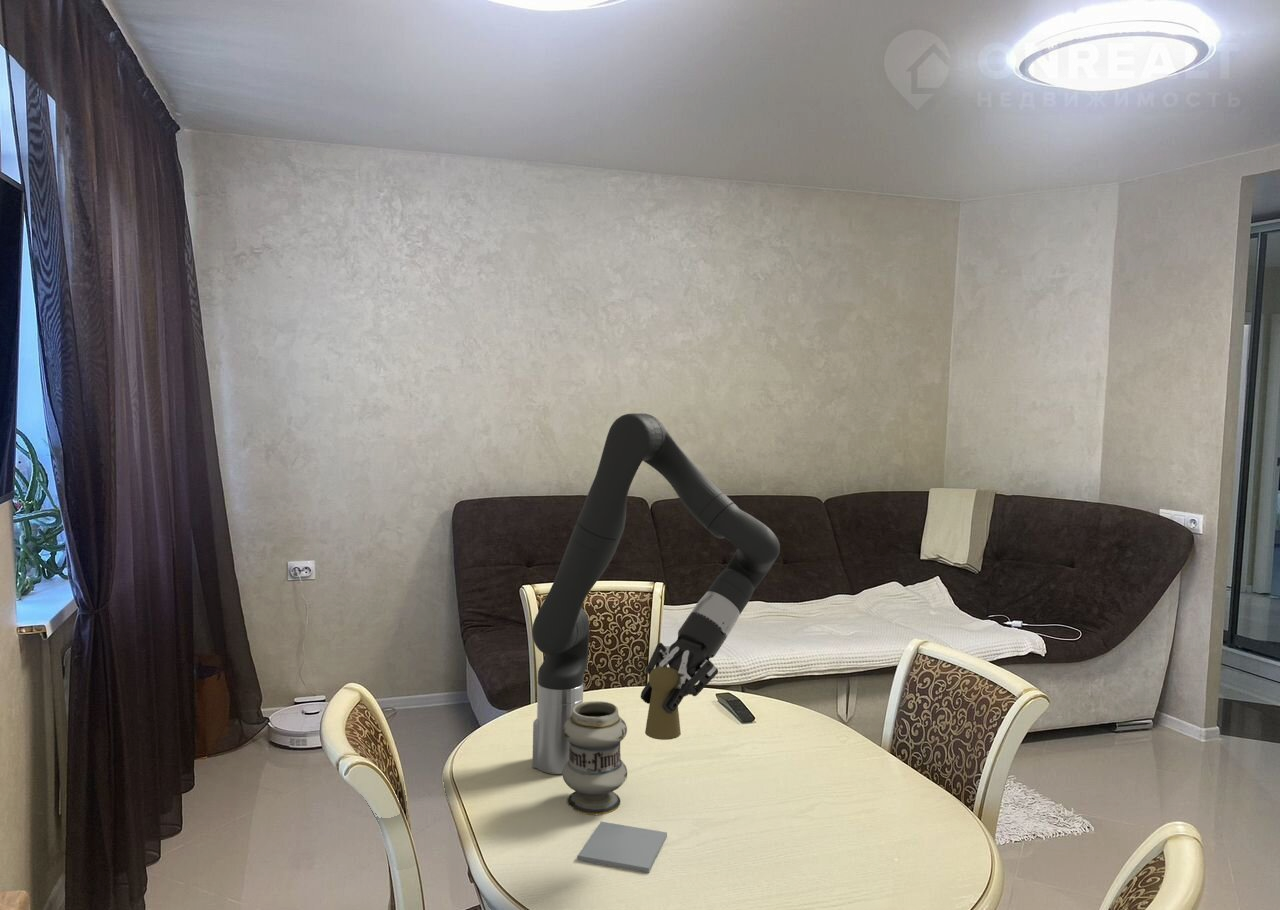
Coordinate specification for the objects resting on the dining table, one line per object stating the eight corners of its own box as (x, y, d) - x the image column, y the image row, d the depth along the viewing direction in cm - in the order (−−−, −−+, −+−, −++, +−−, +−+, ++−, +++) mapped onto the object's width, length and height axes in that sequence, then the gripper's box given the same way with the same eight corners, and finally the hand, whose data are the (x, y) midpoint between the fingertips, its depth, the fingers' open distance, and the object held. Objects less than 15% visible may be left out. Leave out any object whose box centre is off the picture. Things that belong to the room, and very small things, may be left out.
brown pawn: (677, 741, 144) (679, 675, 143) (641, 737, 145) (643, 672, 144) (683, 727, 150) (685, 664, 149) (648, 724, 151) (650, 661, 150)
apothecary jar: (549, 798, 164) (551, 704, 163) (601, 782, 171) (604, 692, 170) (585, 824, 154) (587, 725, 153) (639, 806, 162) (642, 711, 160)
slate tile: (577, 860, 142) (577, 855, 142) (600, 825, 154) (601, 821, 154) (648, 873, 139) (649, 868, 139) (667, 836, 151) (667, 832, 151)
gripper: (671, 602, 156) (616, 681, 149) (728, 620, 145) (672, 706, 138) (691, 627, 160) (639, 705, 153) (749, 646, 149) (695, 731, 142)
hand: (655, 705), depth 146 cm, fingers closed on brown pawn, 5 cm apart
